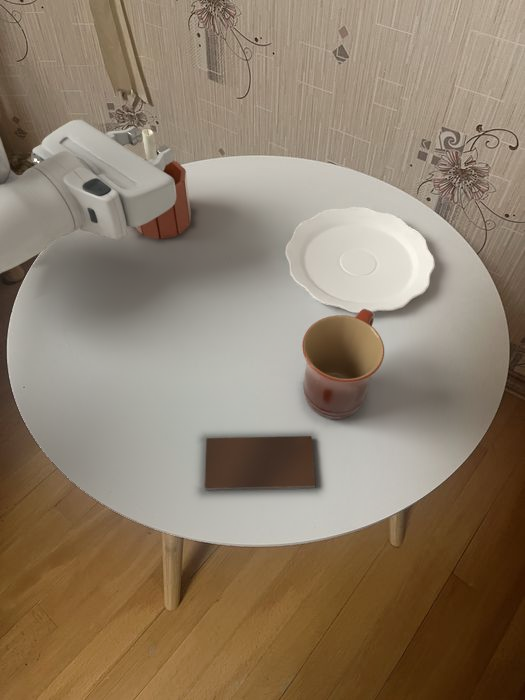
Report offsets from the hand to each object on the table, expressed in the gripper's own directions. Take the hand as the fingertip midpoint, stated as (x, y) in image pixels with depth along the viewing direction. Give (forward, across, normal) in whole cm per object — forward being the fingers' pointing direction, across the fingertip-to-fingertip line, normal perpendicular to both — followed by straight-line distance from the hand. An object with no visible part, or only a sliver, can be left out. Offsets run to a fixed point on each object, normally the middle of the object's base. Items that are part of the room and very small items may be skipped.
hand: (154, 142), depth 77 cm
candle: (-1, 0, -13) cm, 13 cm away
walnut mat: (-21, +39, -13) cm, 46 cm away
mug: (-7, +39, -13) cm, 42 cm away
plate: (+12, +28, -13) cm, 33 cm away
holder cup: (-1, 0, -13) cm, 13 cm away
